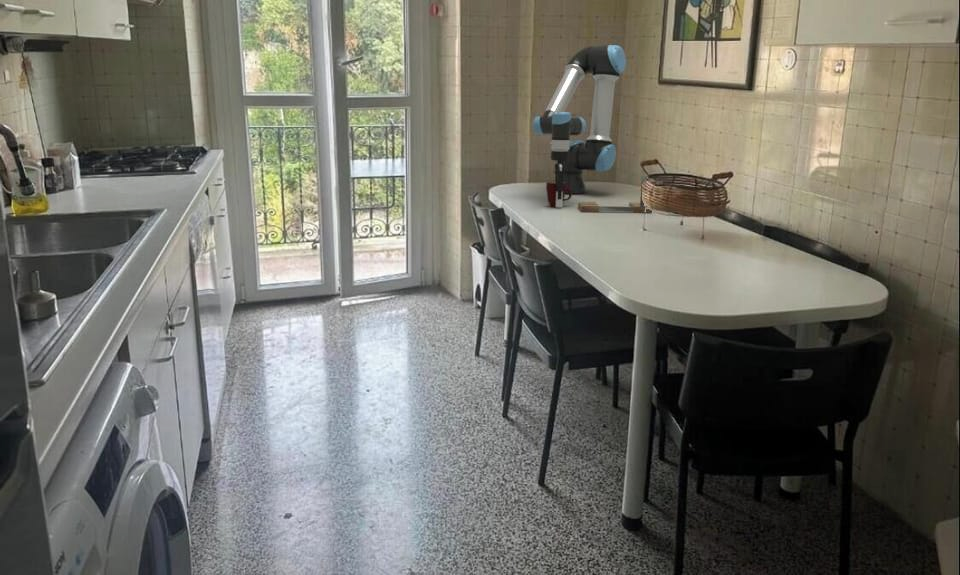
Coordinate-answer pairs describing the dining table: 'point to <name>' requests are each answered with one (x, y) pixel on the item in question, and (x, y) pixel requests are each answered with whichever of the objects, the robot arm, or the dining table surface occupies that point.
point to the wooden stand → (632, 206)
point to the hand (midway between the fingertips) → (558, 205)
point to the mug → (552, 193)
